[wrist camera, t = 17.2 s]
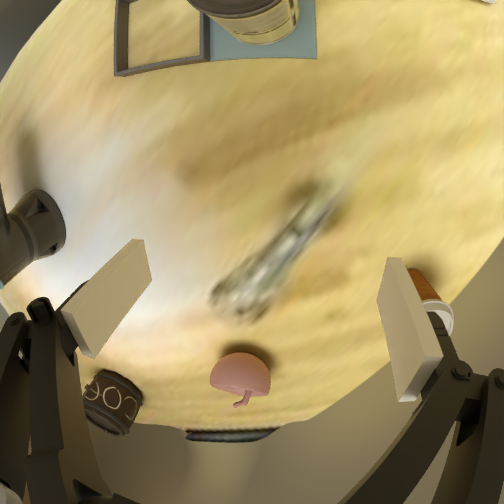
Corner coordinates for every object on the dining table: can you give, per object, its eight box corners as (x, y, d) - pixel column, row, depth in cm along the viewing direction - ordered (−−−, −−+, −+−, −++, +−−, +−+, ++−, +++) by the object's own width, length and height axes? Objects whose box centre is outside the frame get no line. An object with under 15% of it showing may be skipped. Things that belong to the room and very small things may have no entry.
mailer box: (125, 76, 35) (114, 76, 32) (126, 1, 28) (116, -3, 25) (316, 59, 30) (317, 55, 27) (312, -26, 23) (312, -34, 21)
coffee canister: (106, 360, 71) (81, 400, 58) (153, 396, 76) (134, 437, 62) (90, 374, 79) (68, 407, 66) (131, 405, 84) (113, 439, 70)
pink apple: (220, 371, 62) (207, 411, 52) (216, 336, 56) (199, 380, 46) (272, 379, 60) (265, 421, 50) (275, 344, 54) (267, 391, 45)
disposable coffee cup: (375, 270, 43) (391, 321, 33) (428, 252, 40) (456, 297, 29) (386, 312, 47) (398, 363, 36) (433, 296, 43) (455, 343, 33)
